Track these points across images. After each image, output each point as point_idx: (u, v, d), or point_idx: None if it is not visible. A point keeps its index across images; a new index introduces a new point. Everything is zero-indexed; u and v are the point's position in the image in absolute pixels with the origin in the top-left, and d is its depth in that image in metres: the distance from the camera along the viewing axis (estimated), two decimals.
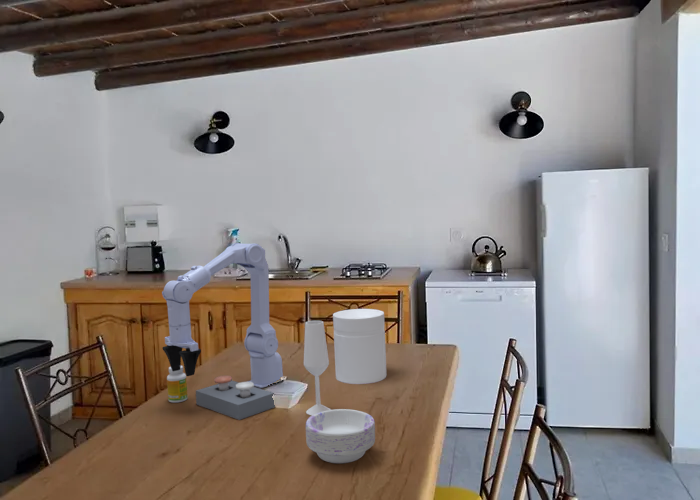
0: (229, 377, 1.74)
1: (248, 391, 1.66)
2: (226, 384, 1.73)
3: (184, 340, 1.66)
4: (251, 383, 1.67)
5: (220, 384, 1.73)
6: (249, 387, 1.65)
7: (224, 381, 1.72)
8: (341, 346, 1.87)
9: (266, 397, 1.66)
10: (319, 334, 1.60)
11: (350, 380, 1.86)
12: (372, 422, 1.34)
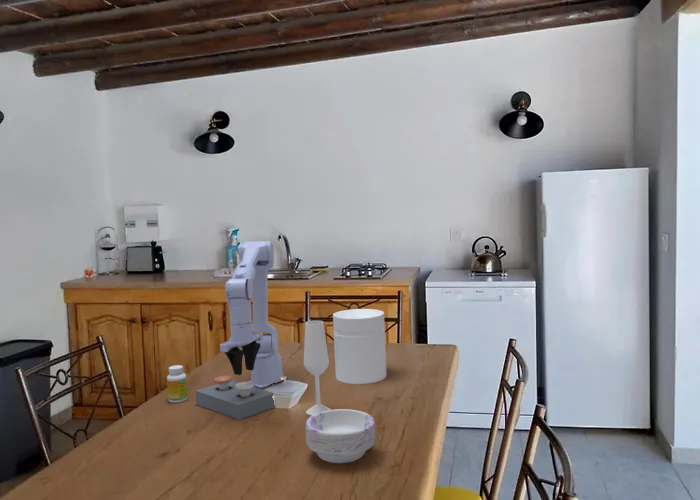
0: (229, 377, 1.74)
1: (248, 391, 1.66)
2: (226, 384, 1.73)
3: (233, 339, 1.64)
4: (251, 383, 1.67)
5: (220, 384, 1.73)
6: (249, 387, 1.65)
7: (224, 381, 1.72)
8: (341, 346, 1.87)
9: (266, 397, 1.66)
10: (319, 334, 1.60)
11: (350, 380, 1.86)
12: (372, 422, 1.34)
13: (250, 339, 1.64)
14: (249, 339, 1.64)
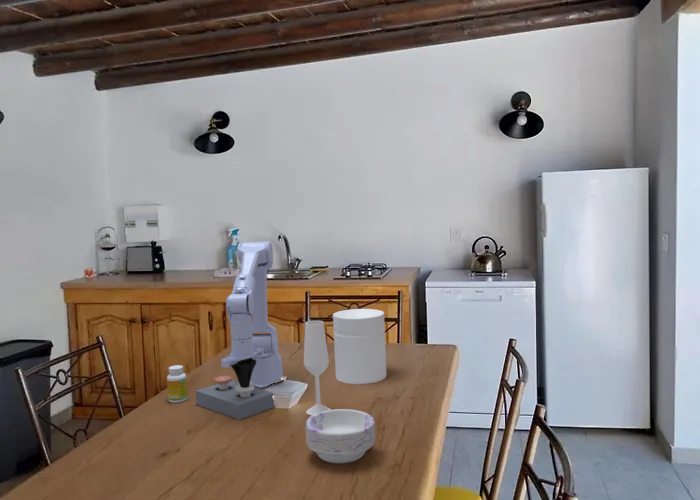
0: (229, 377, 1.74)
1: (248, 393, 1.66)
2: (226, 384, 1.73)
3: (234, 354, 1.64)
4: (251, 385, 1.68)
5: (220, 384, 1.73)
6: (249, 389, 1.65)
7: (224, 381, 1.72)
8: (341, 346, 1.87)
9: (266, 397, 1.66)
10: (319, 334, 1.60)
11: (350, 380, 1.86)
12: (372, 422, 1.34)
13: (251, 354, 1.65)
14: (250, 354, 1.64)
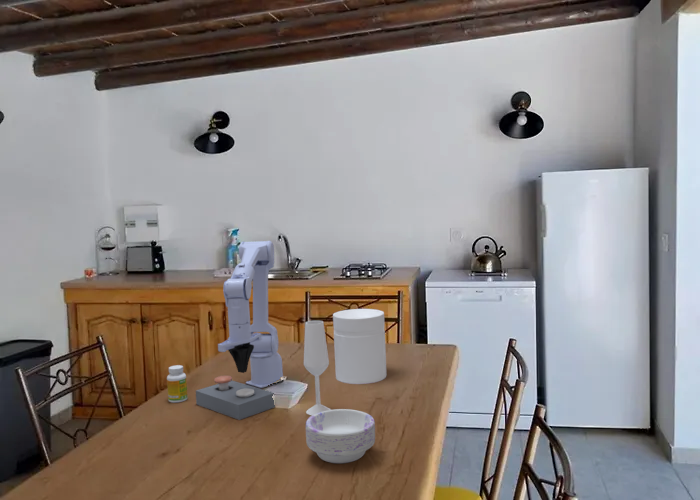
0: (229, 377, 1.74)
1: None
2: (226, 384, 1.73)
3: (231, 339, 1.64)
4: (251, 390, 1.68)
5: (220, 384, 1.73)
6: (249, 394, 1.65)
7: (224, 381, 1.72)
8: (341, 346, 1.87)
9: (266, 397, 1.66)
10: (319, 334, 1.60)
11: (350, 380, 1.86)
12: (372, 422, 1.34)
13: (248, 339, 1.65)
14: (247, 339, 1.65)
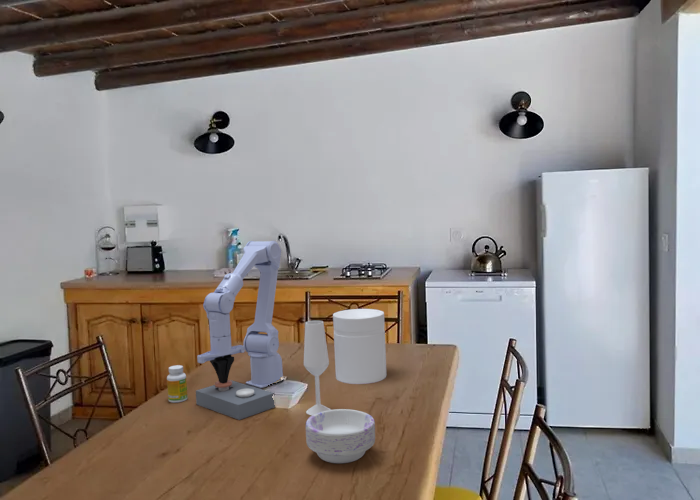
0: (229, 381, 1.74)
1: None
2: (226, 388, 1.73)
3: (211, 351, 1.71)
4: (251, 390, 1.68)
5: (220, 388, 1.73)
6: (249, 394, 1.65)
7: (224, 385, 1.72)
8: (341, 346, 1.87)
9: (266, 397, 1.66)
10: (319, 334, 1.60)
11: (350, 380, 1.86)
12: (372, 422, 1.34)
13: (228, 351, 1.71)
14: (226, 351, 1.71)
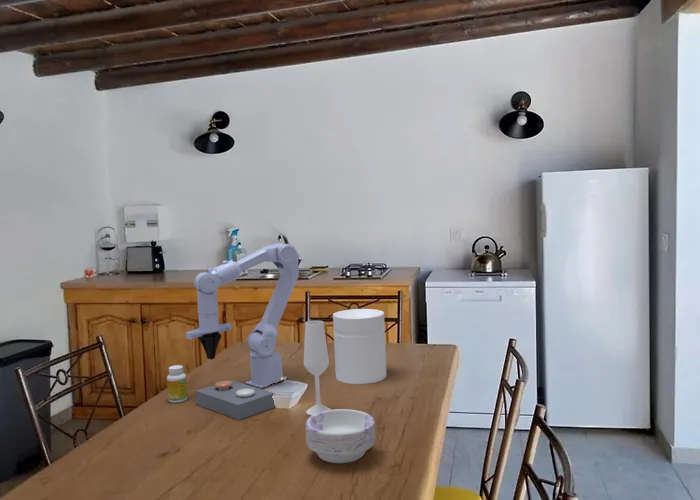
0: (229, 382, 1.74)
1: None
2: (226, 389, 1.73)
3: (200, 328, 1.80)
4: (251, 390, 1.68)
5: (220, 389, 1.73)
6: (249, 394, 1.65)
7: (224, 386, 1.72)
8: (341, 346, 1.87)
9: (266, 397, 1.66)
10: (319, 334, 1.60)
11: (350, 380, 1.86)
12: (372, 422, 1.34)
13: (215, 328, 1.80)
14: (214, 328, 1.80)
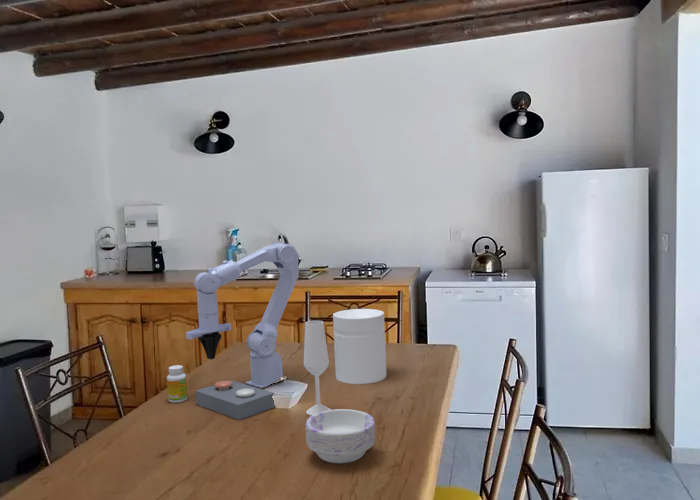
0: (229, 382, 1.74)
1: None
2: (226, 389, 1.73)
3: (200, 328, 1.80)
4: (251, 390, 1.68)
5: (220, 389, 1.73)
6: (249, 394, 1.65)
7: (224, 386, 1.72)
8: (341, 346, 1.87)
9: (266, 397, 1.66)
10: (319, 334, 1.60)
11: (350, 380, 1.86)
12: (372, 422, 1.34)
13: (215, 328, 1.80)
14: (214, 328, 1.80)
